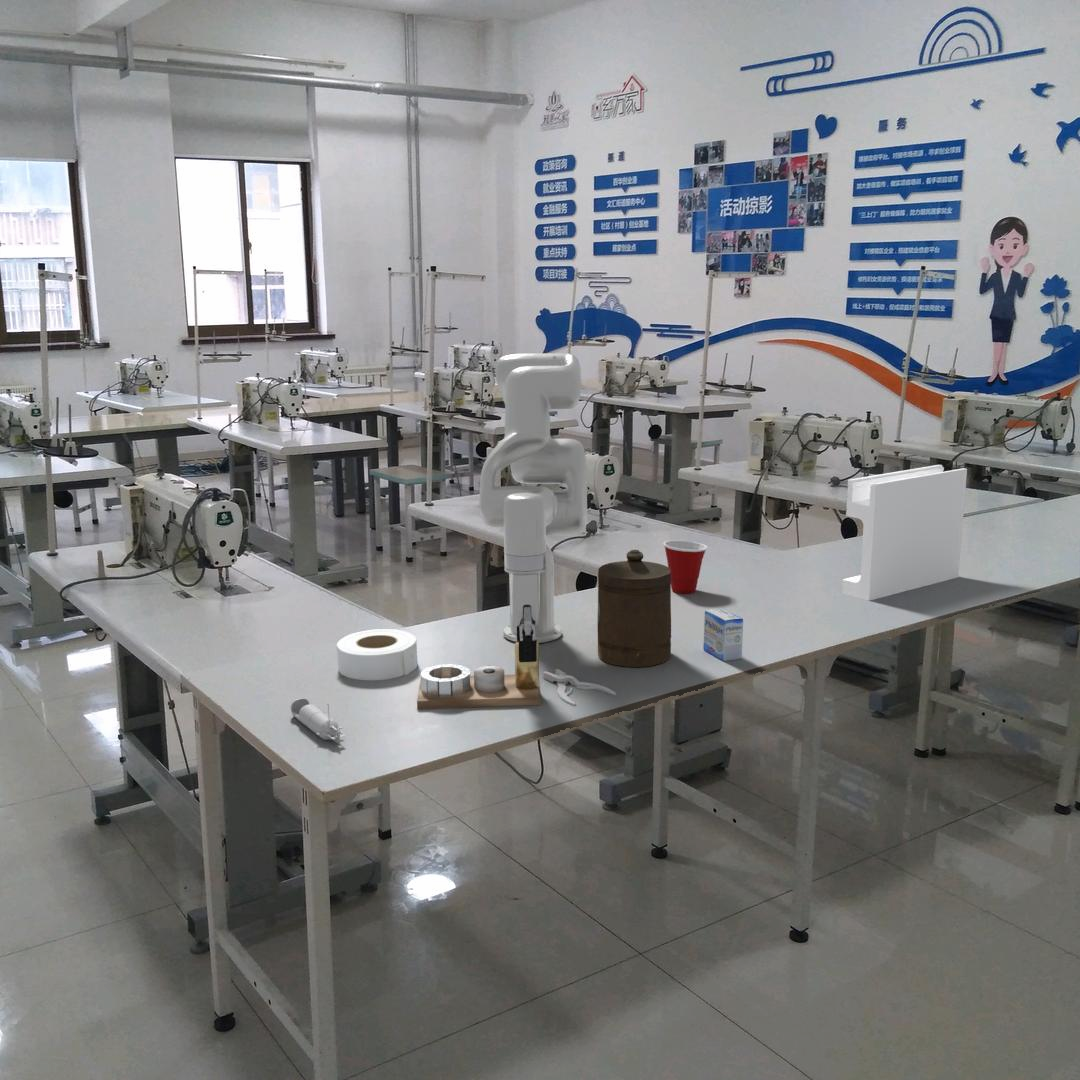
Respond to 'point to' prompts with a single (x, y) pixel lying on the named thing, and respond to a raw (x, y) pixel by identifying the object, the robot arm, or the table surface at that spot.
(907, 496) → the block
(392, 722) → the table surface
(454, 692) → the ring
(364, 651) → the roll of tape
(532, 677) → the brass peg
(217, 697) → the table surface
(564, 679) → the pliers
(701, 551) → the plastic cup
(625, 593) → the wooden container
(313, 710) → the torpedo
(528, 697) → the fitting board
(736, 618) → the medicine box
